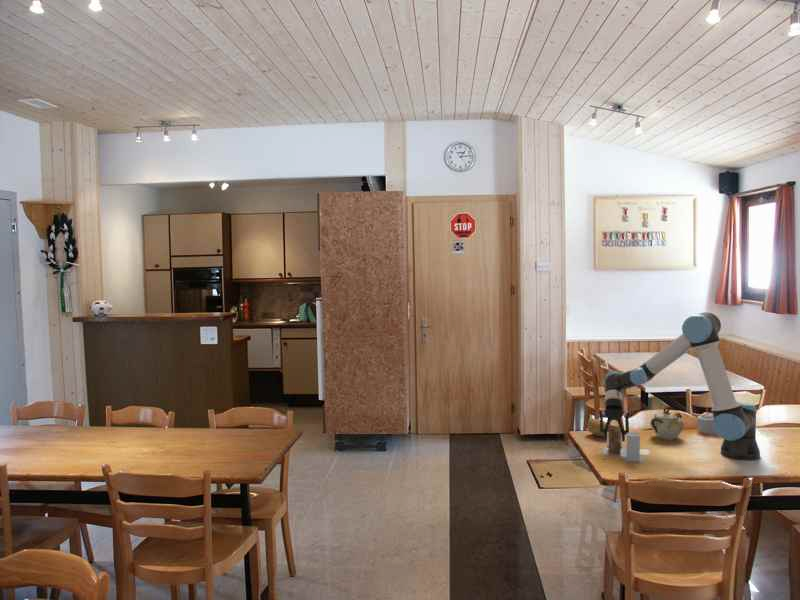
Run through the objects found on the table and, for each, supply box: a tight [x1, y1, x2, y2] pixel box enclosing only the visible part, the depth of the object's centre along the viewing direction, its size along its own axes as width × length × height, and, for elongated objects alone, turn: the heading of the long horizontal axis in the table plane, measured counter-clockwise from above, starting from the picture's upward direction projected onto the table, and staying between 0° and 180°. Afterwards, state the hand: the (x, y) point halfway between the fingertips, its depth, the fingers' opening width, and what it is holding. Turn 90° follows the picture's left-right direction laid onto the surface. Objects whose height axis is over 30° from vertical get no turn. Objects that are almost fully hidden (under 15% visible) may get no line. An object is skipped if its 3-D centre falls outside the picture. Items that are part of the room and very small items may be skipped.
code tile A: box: [602, 447, 627, 457], centre depth 278 cm, size 10×10×1 cm
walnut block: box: [608, 425, 621, 454], centre depth 277 cm, size 5×5×11 cm
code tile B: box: [622, 456, 644, 464], centre depth 267 cm, size 8×8×1 cm
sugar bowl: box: [649, 406, 685, 441], centre depth 299 cm, size 20×15×15 cm
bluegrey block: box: [626, 432, 641, 462], centre depth 266 cm, size 5×5×11 cm
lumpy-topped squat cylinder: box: [696, 412, 717, 435], centre depth 307 cm, size 10×13×9 cm
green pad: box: [640, 448, 650, 456], centre depth 277 cm, size 8×8×1 cm
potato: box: [587, 418, 612, 438], centre depth 303 cm, size 10×14×8 cm
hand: (614, 446), depth 274 cm, fingers closed on walnut block, 5 cm apart
